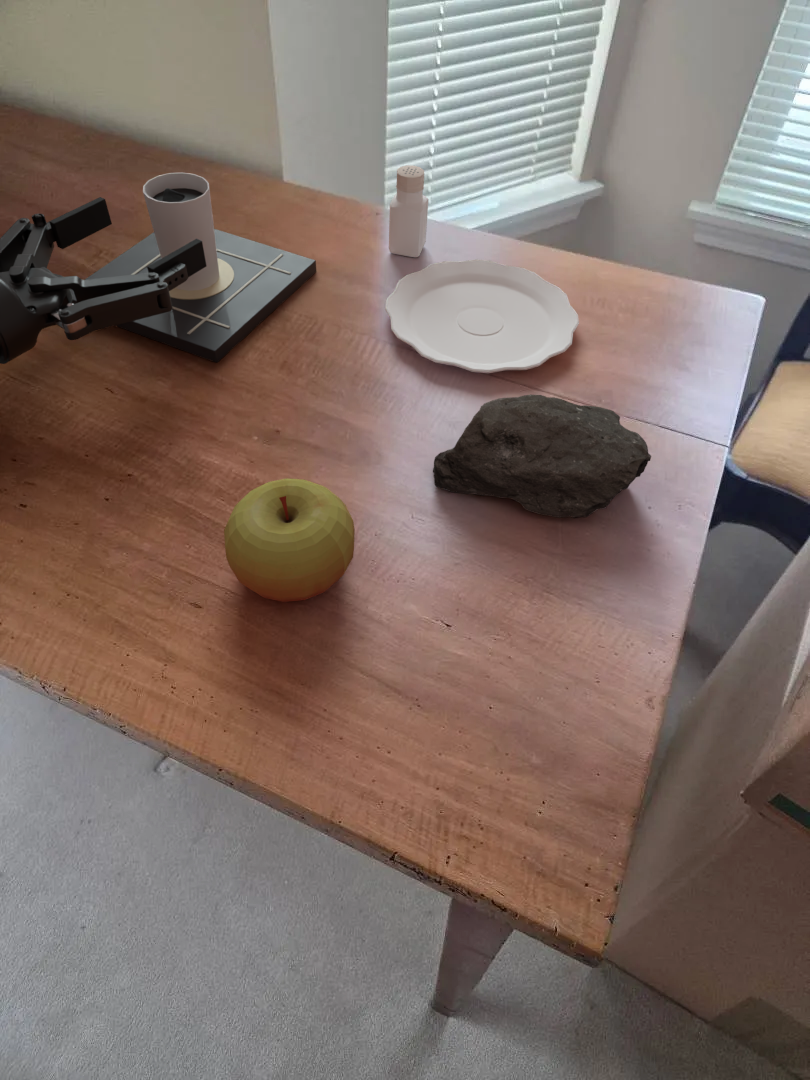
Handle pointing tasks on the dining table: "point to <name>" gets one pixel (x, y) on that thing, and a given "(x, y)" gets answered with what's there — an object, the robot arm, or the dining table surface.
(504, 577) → the dining table surface
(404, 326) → the plate
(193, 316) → the board
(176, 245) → the white cup
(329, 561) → the apple
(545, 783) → the dining table surface
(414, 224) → the salt shaker
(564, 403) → the stone
